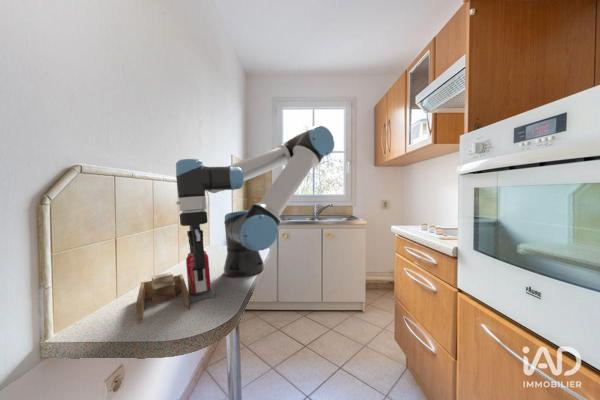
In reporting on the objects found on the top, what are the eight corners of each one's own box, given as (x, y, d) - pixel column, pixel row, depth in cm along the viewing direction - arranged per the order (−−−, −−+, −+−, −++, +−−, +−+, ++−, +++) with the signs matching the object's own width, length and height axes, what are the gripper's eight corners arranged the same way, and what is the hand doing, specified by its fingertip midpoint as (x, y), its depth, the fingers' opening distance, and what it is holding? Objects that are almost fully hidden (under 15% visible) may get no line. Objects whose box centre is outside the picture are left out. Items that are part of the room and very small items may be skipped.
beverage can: (199, 287, 78) (196, 250, 78) (215, 288, 76) (212, 250, 76) (183, 295, 72) (180, 255, 72) (200, 296, 70) (197, 255, 70)
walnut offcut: (175, 293, 76) (174, 281, 76) (175, 298, 73) (174, 284, 72) (152, 299, 73) (151, 285, 73) (152, 303, 70) (151, 289, 70)
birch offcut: (170, 281, 76) (170, 272, 76) (173, 284, 73) (172, 274, 73) (152, 286, 72) (151, 276, 72) (154, 289, 70) (153, 278, 70)
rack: (183, 289, 79) (182, 274, 79) (189, 309, 63) (187, 290, 63) (142, 298, 73) (141, 282, 73) (138, 323, 58) (136, 302, 58)
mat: (209, 287, 79) (209, 285, 79) (215, 296, 71) (215, 294, 71) (186, 293, 75) (185, 291, 75) (189, 303, 68) (188, 300, 68)
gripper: (177, 212, 79) (183, 283, 79) (181, 213, 63) (189, 302, 63) (202, 210, 83) (207, 277, 83) (212, 210, 67) (218, 294, 67)
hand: (199, 288), depth 73 cm, fingers open, 5 cm apart
